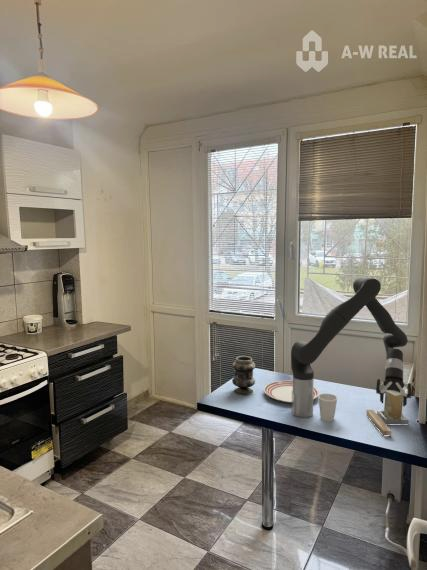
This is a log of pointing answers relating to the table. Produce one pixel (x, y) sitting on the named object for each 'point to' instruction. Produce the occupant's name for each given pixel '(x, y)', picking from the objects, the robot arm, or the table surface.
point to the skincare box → (393, 404)
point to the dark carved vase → (243, 375)
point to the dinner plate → (283, 391)
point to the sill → (378, 422)
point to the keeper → (392, 421)
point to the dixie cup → (327, 406)
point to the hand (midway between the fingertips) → (393, 404)
